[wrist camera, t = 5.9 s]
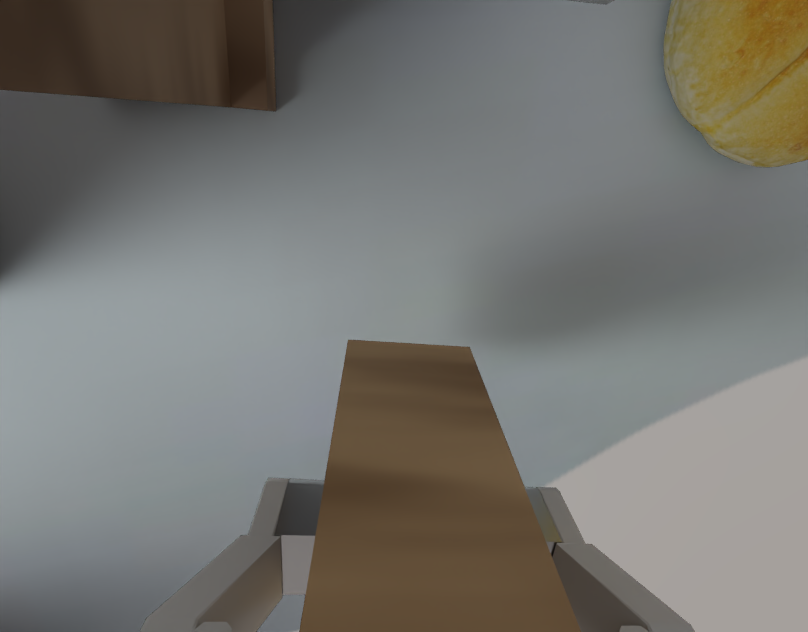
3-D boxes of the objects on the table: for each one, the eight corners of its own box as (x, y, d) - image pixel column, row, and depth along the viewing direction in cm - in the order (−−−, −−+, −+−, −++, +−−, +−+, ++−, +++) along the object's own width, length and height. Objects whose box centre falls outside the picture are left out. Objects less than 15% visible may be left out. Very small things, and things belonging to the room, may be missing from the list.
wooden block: (453, 443, 16) (609, 1148, 5) (344, 438, 16) (249, 1179, 5) (469, 347, 14) (752, 1069, 3) (348, 339, 14) (220, 1106, 3)
